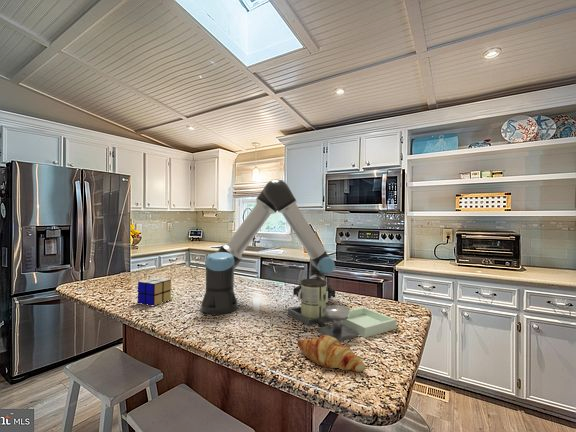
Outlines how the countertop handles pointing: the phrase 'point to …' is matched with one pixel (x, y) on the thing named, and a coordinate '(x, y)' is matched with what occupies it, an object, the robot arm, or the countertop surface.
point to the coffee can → (313, 298)
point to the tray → (369, 322)
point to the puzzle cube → (154, 291)
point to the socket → (309, 322)
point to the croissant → (331, 353)
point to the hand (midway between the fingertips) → (312, 298)
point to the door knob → (337, 323)
